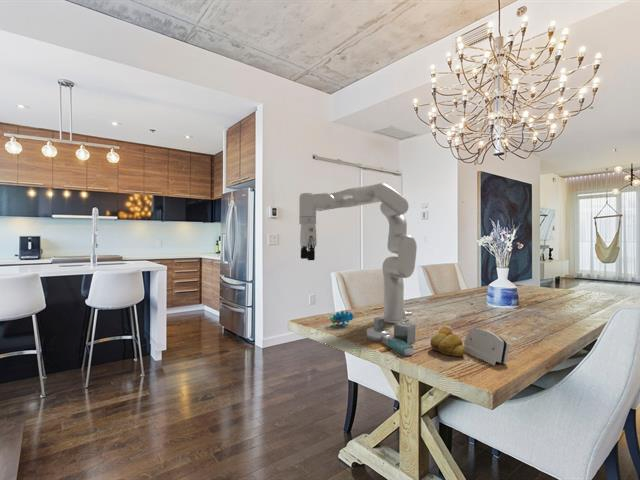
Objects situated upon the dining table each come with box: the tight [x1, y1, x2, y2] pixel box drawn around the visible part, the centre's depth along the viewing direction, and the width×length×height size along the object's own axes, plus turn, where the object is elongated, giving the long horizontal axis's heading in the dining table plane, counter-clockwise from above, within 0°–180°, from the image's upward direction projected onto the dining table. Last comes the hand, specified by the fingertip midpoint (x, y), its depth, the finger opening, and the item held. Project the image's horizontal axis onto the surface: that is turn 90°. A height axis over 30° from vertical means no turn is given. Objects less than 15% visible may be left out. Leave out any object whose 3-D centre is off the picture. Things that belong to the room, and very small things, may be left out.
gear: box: [329, 310, 354, 328], centre depth 155 cm, size 11×6×10 cm
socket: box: [393, 321, 416, 345], centre depth 133 cm, size 6×6×7 cm
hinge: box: [462, 328, 510, 366], centre depth 118 cm, size 17×5×10 cm, turn 18°
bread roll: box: [429, 326, 466, 357], centre depth 122 cm, size 13×10×8 cm
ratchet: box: [366, 316, 414, 357], centre depth 130 cm, size 10×26×8 cm, turn 20°
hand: (307, 259), depth 150 cm, fingers open, 9 cm apart
